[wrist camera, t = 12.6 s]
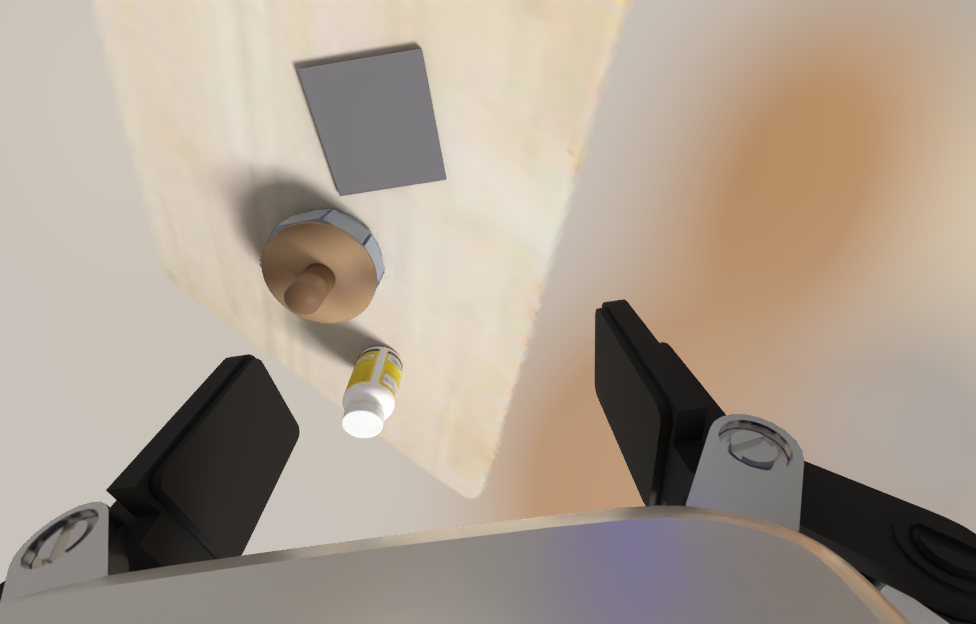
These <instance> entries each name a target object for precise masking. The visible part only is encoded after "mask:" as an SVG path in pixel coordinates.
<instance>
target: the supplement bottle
mask: <svg viewBox="0 0 976 624" xmlns="http://www.w3.org/2000/svg"><path fill="white" fill-rule="evenodd" d="M402 368H403V363H402V360H401V358H400V356H399V355H398V354H397V353H396V352H395V351H393V350H391V349H389V348H386V347H381V346H376V347H371V348H368V349H366V350H364V351H363V352H362V353H361V354H360V356H359V358H358V360H357V362H356V365H355V368H354V370H353V373H352V375H351V378H350V380H349V383H348V385H347V388H346V391H345V394H344V397H343V408H344V410H345V412H344V416H343V419H342V426H343V428H344V430H345V431H346V432H348V433H349V434H350V435H352V436H355V437H358V438H370V437H373V436H376V435H377V434H379V433H380V431H381V430H382V427H383V424H384V420H385V419H386V418H388V417H389V416H390V415H391V413H392V411H393V409H394V406H395V402H396V397H397V392H398V388H399V383H400V379H401V374H402Z"/></svg>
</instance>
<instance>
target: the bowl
mask: <svg viewBox="0 0 976 624" xmlns="http://www.w3.org/2000/svg"><path fill="white" fill-rule="evenodd" d="M306 221H317V222H323V223H328V224H331V225H334V226H336V227H339V228H341V229H343V230H345V231H346V232H348V233H350V234H351V235H352V236H354V237H355V238H356V239H357V240H358V241H359V242H360V243H361V244H362V245H363V246H364V247H365V248H366V250H367V251H368V252H369V254H370V256H371V258H372V260H373V262H374V265H375V268H376V272H377V286H376V288H377V287H378V285H379V283H380V280H381V278H382V276H383V274H384V269H385V268H384V265H383V261H382V254H381V250H380V247H379V245H378V243H377V241H376V239H375V238H374V236H373V234H372V233H371V231H370V230H368V229H367V228H366V227H365V226H364V225H363V224H362V223H360V222H359V221H358V220H356V219H355V218H353V217H351V216H349V215H347V214H344V213H342V212H338V211H336V210H335V209H333V210H331V209H318V210H312V211H308V212H305V213H303V214H297V215H292V216H290V217H289V218H287V219H286V220H285V221H283V222H282V223H280V224H279V225H277V226H276V227H275V228H274V229H273V232H272V234H271V236H270V238H269V241H270V239H271V238H272V237H273V236H274V235H276V234H277V233H278V232H279V231H281V230H282V229H284V228H285V227H287V226H289V225H292V224H295V223H299V222H306ZM269 241H268V242H269ZM267 244H268V243H267ZM262 256H263V254H262ZM262 256H261V259H260V262H262ZM260 266H261V268H262V263H261V264H260Z"/></svg>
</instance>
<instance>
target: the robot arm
mask: <svg viewBox="0 0 976 624" xmlns="http://www.w3.org/2000/svg"><path fill="white" fill-rule="evenodd" d="M595 389H596V394H597V396H598V399H599V401H600V404H601V406H602V408H603V410H604V413H605V415H606V417H607V420H608V422H609V424H610V427H611V429H612V431H613V433H614V436H615V438H616V440H617V443H618V445H619V447H620V450H621V452H622V454H623V456H624V459H625V461H626V463H627V466H628V468H629V470H630V473H631V475H632V477H633V479H634V482H635V484H636V486H637V489H638V491H639V493H640V496H641V498H642V500H643V502H644V504H645V505H646V506H644V507H627V508H615V509H605V510H596V511H587V512H578V513H569V514H560V515H551V516H541V517H534V518H526V519H518V520H510V521H502V522H494V523H486V524H479V525H470V526H462V527H455V528H447V529H439V530H431V531H424V532H416V533H408V534H401V535H393V536H386V537H377V538H370V539H362V540H355V541H347V542H340V543H333V544H325V545H318V546H310V547H302V548H295V549H287V550H281V551H273V552H266V553H258V554H251V555H244V556H241V555H242V553H243V551H244V549H245V547H246V545H247V543H248V541H249V539H250V537H251V535H252V533H253V531H254V529H255V527H256V525H257V523H258V520H259V518H260V516H261V514H262V512H263V510H264V508H265V506H266V504H267V502H268V500H269V498H270V496H271V494H272V491H273V490H274V488H275V485H276V483H277V481H278V479H279V477H280V475H281V473H282V471H283V469H284V467H285V465H286V463H287V461H288V459H289V457H290V454H291V452H292V450H293V448H294V446H295V444H296V442H297V440H298V437H299V426H298V424H297V422H296V420H295V419H294V417H293V415H292V414H291V412H290V410H289V408H288V406H287V405H286V403H285V401H284V399H283V398H282V396H281V394H280V392H279V391H278V389H277V387H276V385H275V384H274V382H273V380H272V378H271V377H270V375H269V373H268V371H267V370H266V368H265V366H264V364H263V363H262V361H261V360H259V359H256V358H255V357H254V356H252V355H242V356H235V357H229V358H226V359H225V360H223V362H222V363H221V364H220V365H219V366H218V367H217V368H216V369H215V370H214V372H213V373H212V374H211V375H210V376H209V377H208V378H207V379H206V380H205V382H204V383H203V384H202V385H201V386H200V387H199V388H198V389H197V390H196V391H195V392H194V394H193V395H192V396H191V397H190V398H189V399H188V400H187V401H186V402H185V404H184V405H183V406H182V407H181V408H180V409H179V410H178V411H177V412H176V413H175V415H174V416H173V417H172V418H171V419H170V420H169V421H168V422H167V423H166V425H165V426H164V427H163V428H162V429H161V430H160V431H159V432H158V433H157V434H156V436H155V437H154V438H153V439H152V440H151V441H150V442H149V443H148V444H147V446H146V447H145V448H144V449H143V450H142V451H141V452H140V453H139V454H138V455H137V457H136V458H135V459H134V460H133V461H132V462H131V463H130V464H129V465H128V467H127V468H126V469H125V470H124V471H123V472H122V473H121V474H120V476H118V478H117V479H116V480H115V481H114V482H113V483H112V484H111V485H110V486H109V488H108V489H107V492H108V493H110V494H111V495H112V496H113V497H114V498H115V499H116V502H115V503H114V504H113V505H112V506H111V507H109V506H108V505H106V504H104V503H102V502H91V503H88V504H84V505H81V506H78V507H76V508H74V509H72V510H70V511H67V512H65V513H63V514H62V515H60V516H59V517H57V518H55V519H54V520H52V521H51V522H49V523H48V524H46V525H45V526H44V527H43V528H41V529H40V530H39V531H37V532H36V533H35V534H34V535H33V536H32V537H31V538H30V539H29V540H28V541H27V542H26V543H24V544H23V546H22V547H21V548H20V549H19V551H18V552H17V553H16V555H15V556H14V557H13V559H12V562H11V564H10V566H9V569H8V573H7V577H6V581H4V582H3V583H1V584H0V624H976V534H975V533H973V532H972V531H970V530H969V529H967V528H965V527H964V526H962V525H960V524H958V523H956V522H954V521H952V520H949V519H948V518H945V517H943V516H941V515H938V514H936V513H934V512H931V511H929V510H926V509H923V508H921V507H919V506H916V505H914V504H911V503H908V502H906V501H903V500H901V499H899V498H896V497H893V496H891V495H888V494H886V493H883V492H881V491H878V490H876V489H873V488H871V487H868V486H866V485H863V484H861V483H858V482H856V481H853V480H851V479H848V478H846V477H843V476H841V475H838V474H836V473H833V472H831V471H828V470H826V469H823V468H821V467H818V466H816V465H813V464H811V463H808V462H806V461H804V457H803V452H802V449H801V448H800V446H799V445H798V443H797V441H796V440H795V439H794V438H793V437H792V436H791V435H790V434H788V433H787V432H786V431H785V430H783V429H782V428H780V427H778V426H777V425H775V424H774V423H772V422H769V421H767V420H764V419H762V418H759V417H755V416H750V415H746V414H731V415H725V413H724V412H723V411H722V410H721V408H720V407H719V406H718V405H717V403H716V402H715V401H714V400H713V399H712V397H711V396H710V395H709V393H708V392H707V391H706V390H705V389H704V387H703V386H702V385H701V384H700V382H699V381H698V380H697V379H696V377H695V376H694V375H693V374H692V373H691V371H690V370H689V369H688V368H687V367H686V365H685V364H684V363H683V361H682V360H681V359H680V358H679V356H678V355H677V354H676V353H675V352H674V350H673V349H672V348H671V347H670V346H669V345H668V344H667V343H664V342H662V343H659V342H658V341H657V339H656V338H655V337H654V336H653V334H652V333H651V332H650V330H649V329H648V328H647V327H646V325H645V324H644V323H643V321H642V320H641V319H640V318H639V317H638V315H637V314H636V312H635V311H634V310H633V308H632V307H631V306H630V305H629V303H628V302H627V301H626V300H617V301H610V302H604V303H603V304H602V308H600V309H596V314H595Z"/></svg>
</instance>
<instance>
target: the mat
mask: <svg viewBox="0 0 976 624" xmlns="http://www.w3.org/2000/svg"><path fill="white" fill-rule="evenodd" d="M297 71H298V74H299V76H300V79H301V82H302V85H303V88H304V91H305V94H306V97H307V100H308V103H309V106H310V109H311V112H312V115H313V118H314V121H315V124H316V127H317V130H318V133H319V136H320V139H321V142H322V145H323V148H324V151H325V154H326V157H327V159H328V162H329V165H330V168H331V171H332V174H333V177H334V180H335V183H336V186H337V189H338V192H339V195H340V196H344V195H350V194H357V193H363V192H370V191H376V190H382V189H389V188H395V187H401V186H408V185H414V184H421V183H427V182H433V181H440V180H446V174H445V169H444V164H443V158H442V153H441V148H440V142H439V137H438V132H437V127H436V121H435V116H434V111H433V105H432V100H431V95H430V90H429V84H428V79H427V74H426V68H425V63H424V58H423V53H422V49H415V50H409V51H403V52H396V53H390V54H384V55H378V56H372V57H366V58H360V59H354V60H348V61H342V62H336V63H330V64H324V65H318V66H312V67H306V68H300V69H297Z"/></svg>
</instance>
